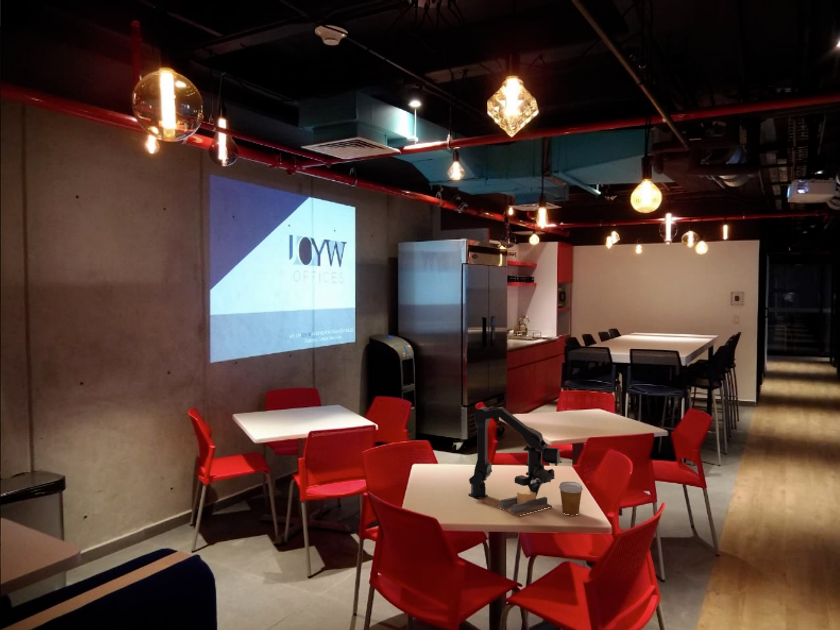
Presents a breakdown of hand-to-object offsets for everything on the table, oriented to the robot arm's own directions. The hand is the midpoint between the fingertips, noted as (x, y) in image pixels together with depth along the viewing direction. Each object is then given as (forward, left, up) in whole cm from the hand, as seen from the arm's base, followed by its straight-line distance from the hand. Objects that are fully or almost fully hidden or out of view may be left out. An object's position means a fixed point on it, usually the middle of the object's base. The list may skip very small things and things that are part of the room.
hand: (534, 497), depth 252 cm
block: (0, -5, -2) cm, 5 cm away
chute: (0, -6, -3) cm, 7 cm away
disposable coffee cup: (+16, +5, -3) cm, 17 cm away
